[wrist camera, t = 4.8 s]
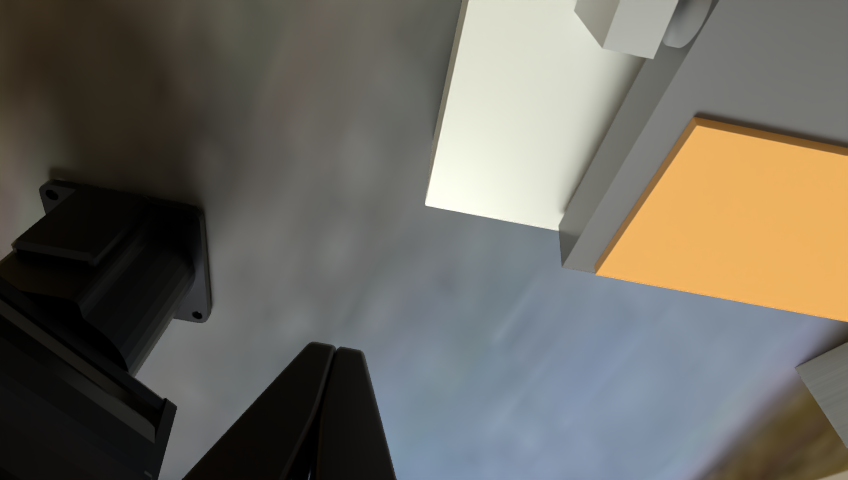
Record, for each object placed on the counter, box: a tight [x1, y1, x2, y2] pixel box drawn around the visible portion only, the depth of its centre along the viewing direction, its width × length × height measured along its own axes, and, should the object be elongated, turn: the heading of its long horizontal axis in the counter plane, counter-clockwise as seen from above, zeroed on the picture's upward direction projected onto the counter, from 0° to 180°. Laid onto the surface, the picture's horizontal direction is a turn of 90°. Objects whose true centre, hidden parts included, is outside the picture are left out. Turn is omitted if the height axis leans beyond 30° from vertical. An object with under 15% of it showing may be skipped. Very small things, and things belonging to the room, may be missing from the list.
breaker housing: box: [425, 0, 679, 231], centre depth 13 cm, size 14×18×8 cm
